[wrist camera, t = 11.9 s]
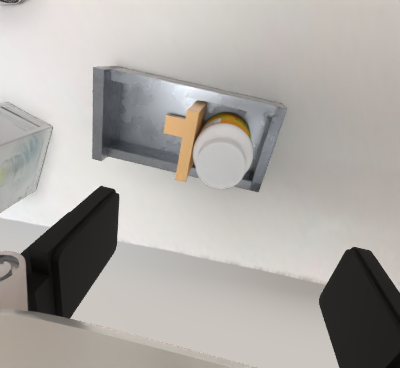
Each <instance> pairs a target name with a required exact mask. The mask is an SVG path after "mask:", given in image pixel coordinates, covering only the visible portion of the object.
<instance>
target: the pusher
mask: <svg viewBox="0 0 400 368" xmlns="http://www.w3.org/2000/svg"><path fill="white" fill-rule="evenodd" d="M207 104H208V102H205V101H200V100H197V101H196V102H195V103H194V104H193V105H192V106H191V107H190V108H189V109H187V113H186V118H184V117H180V116H176V115H171V114H167V115H166V120H165V127H164V133H165V134H169V135H174V136H178V137H182V142H181V148H180V154H179V160H178V165H177V171H176V177H175V180H179V181H183V182H186V180H187V178H188V175H189V173H190V171H191V169H192V166H193V164H194V161H193V146H194V143H195V141H196V139H197V137H198V135H199V133H200V131H201V129H202V128H203V123H204V118H205V113H206V108H207Z"/></svg>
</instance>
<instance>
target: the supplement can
mask: <svg viewBox="0 0 400 368" xmlns="http://www.w3.org/2000/svg"><path fill="white" fill-rule="evenodd" d="M20 1H21V0H0V4H2V5H10V4H17V3H19V2H20Z"/></svg>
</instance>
